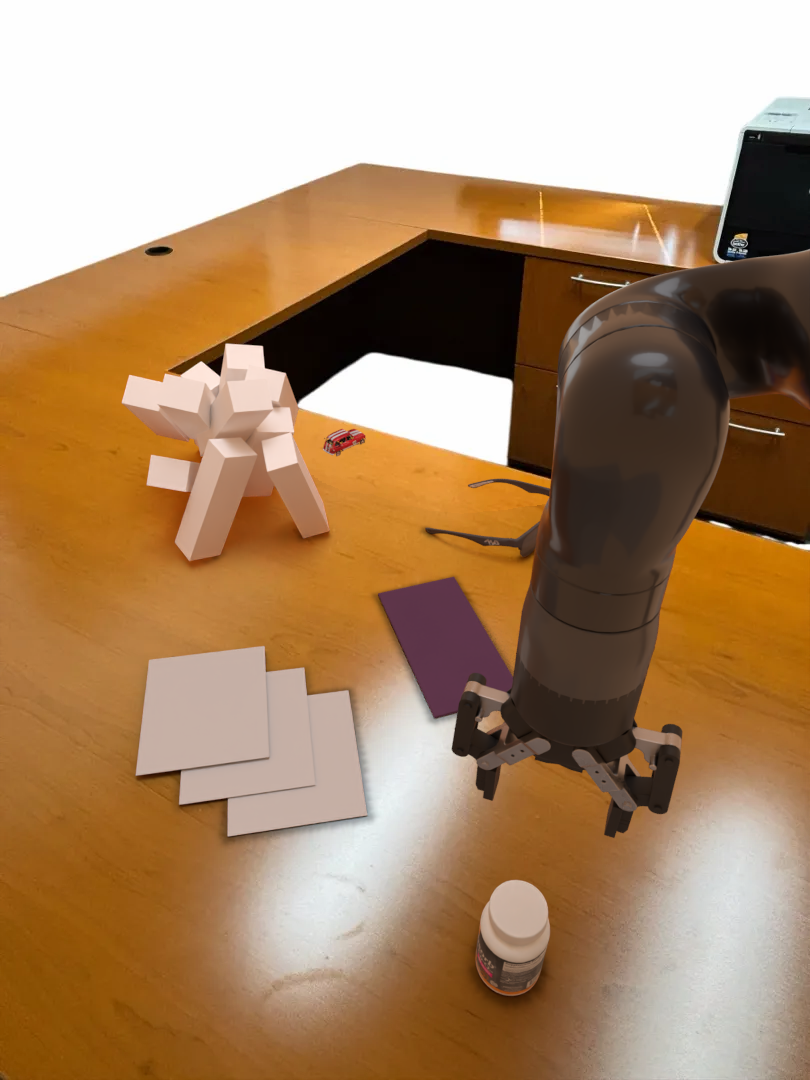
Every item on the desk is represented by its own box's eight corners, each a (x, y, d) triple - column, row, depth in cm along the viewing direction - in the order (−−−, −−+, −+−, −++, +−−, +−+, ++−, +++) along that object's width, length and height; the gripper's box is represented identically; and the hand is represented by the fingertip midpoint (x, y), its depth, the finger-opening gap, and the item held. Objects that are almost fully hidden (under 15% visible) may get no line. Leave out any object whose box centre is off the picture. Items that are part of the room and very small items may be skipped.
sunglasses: (524, 573, 108) (523, 544, 105) (421, 545, 116) (418, 517, 113) (569, 514, 119) (570, 486, 116) (472, 492, 127) (471, 465, 124)
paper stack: (340, 640, 98) (340, 636, 97) (367, 815, 78) (367, 811, 78) (150, 663, 95) (149, 659, 94) (128, 852, 75) (126, 848, 75)
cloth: (522, 695, 91) (522, 693, 91) (434, 718, 88) (434, 716, 88) (453, 578, 107) (454, 576, 107) (377, 595, 105) (377, 593, 104)
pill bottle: (466, 938, 69) (472, 881, 63) (527, 923, 70) (539, 865, 64) (486, 1006, 65) (495, 951, 58) (551, 989, 66) (566, 934, 59)
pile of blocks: (111, 513, 128) (6, 392, 96) (234, 392, 137) (176, 244, 105) (267, 638, 119) (209, 549, 87) (388, 499, 128) (376, 373, 96)
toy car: (368, 442, 136) (367, 427, 134) (332, 459, 131) (331, 443, 130) (354, 435, 138) (354, 419, 136) (319, 451, 134) (318, 435, 132)
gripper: (446, 661, 44) (438, 822, 54) (709, 729, 40) (647, 888, 50) (480, 579, 49) (467, 739, 59) (714, 632, 46) (658, 793, 56)
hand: (550, 807), depth 55 cm, fingers open, 8 cm apart
